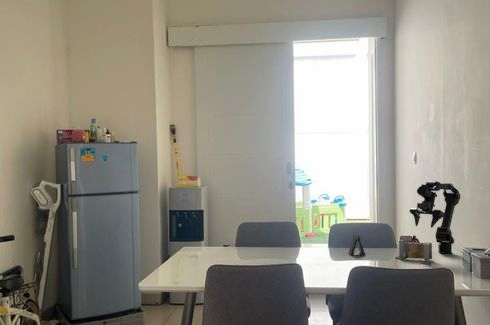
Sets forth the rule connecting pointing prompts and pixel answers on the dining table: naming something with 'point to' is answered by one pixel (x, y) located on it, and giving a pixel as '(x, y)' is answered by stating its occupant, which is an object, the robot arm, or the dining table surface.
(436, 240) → the robot arm
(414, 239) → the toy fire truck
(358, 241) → the phone stand
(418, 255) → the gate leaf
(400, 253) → the gate posts
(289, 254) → the dining table surface
